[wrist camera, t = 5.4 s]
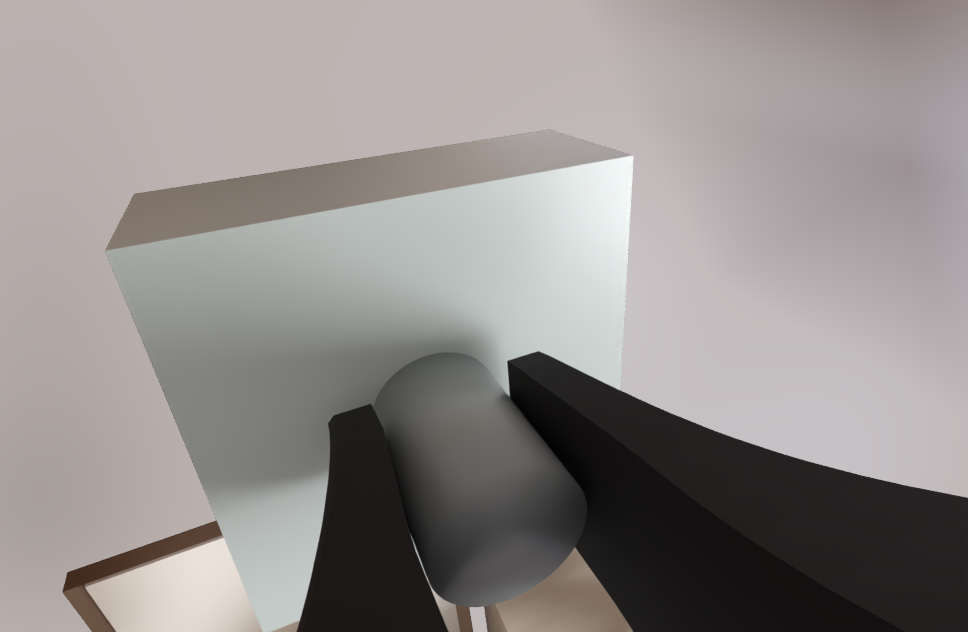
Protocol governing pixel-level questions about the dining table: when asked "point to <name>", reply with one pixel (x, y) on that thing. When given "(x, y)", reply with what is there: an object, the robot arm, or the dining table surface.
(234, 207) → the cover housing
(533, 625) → the maple peg
